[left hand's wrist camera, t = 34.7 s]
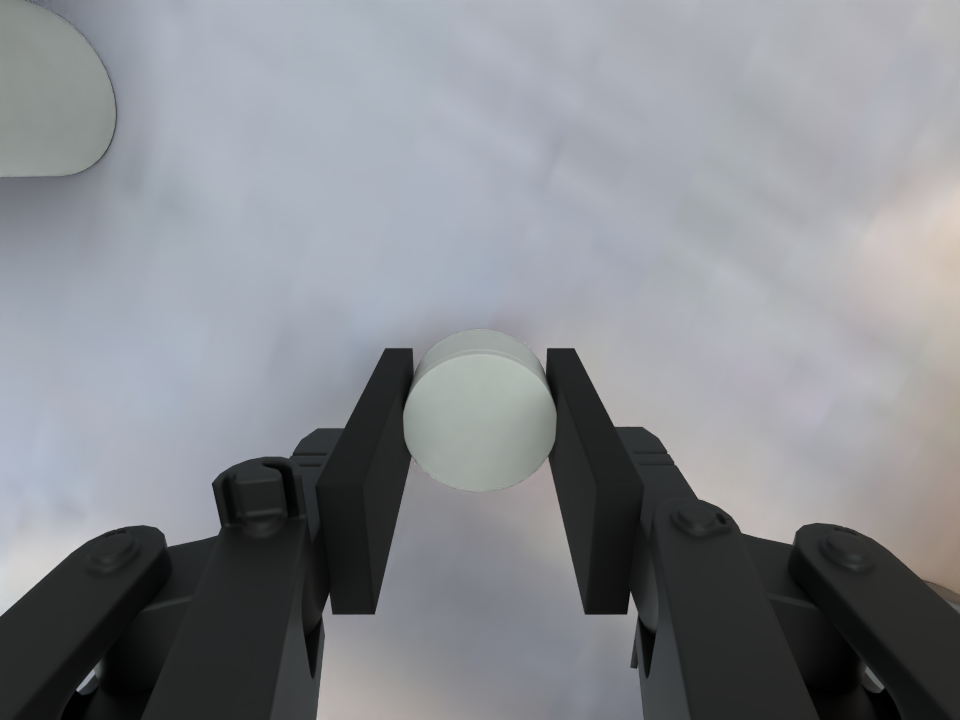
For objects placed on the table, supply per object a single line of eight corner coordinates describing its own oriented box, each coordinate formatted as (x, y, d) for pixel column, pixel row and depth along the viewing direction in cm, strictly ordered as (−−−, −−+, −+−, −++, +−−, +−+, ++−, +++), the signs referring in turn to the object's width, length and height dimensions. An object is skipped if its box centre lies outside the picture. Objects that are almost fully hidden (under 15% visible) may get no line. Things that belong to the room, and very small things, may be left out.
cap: (401, 437, 15) (390, 477, 13) (425, 314, 14) (416, 339, 12) (528, 461, 15) (535, 504, 13) (563, 343, 14) (576, 372, 12)
